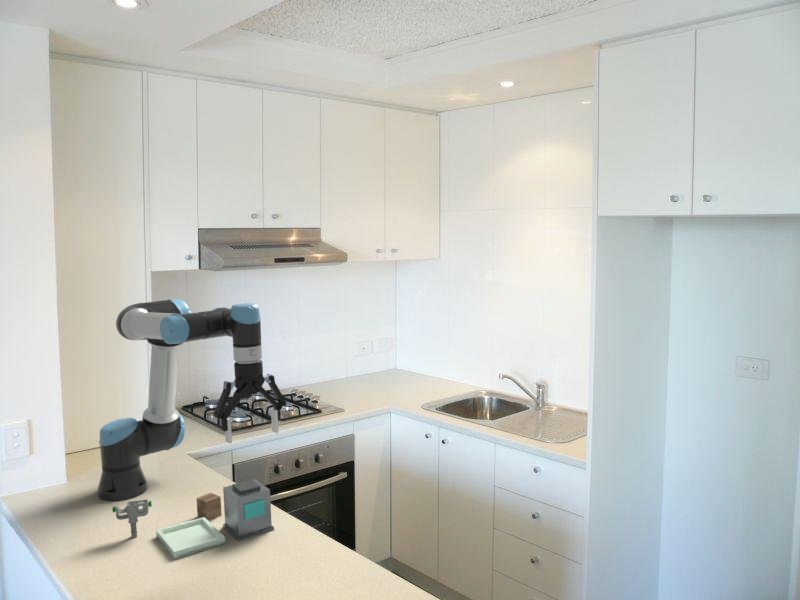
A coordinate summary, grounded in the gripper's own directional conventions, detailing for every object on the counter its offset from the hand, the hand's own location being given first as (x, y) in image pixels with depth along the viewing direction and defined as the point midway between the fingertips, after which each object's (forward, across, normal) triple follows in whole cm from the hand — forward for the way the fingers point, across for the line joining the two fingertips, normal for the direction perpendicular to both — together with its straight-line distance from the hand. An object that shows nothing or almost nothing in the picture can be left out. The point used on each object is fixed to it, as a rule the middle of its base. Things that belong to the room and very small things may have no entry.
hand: (252, 436), depth 194 cm
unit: (+29, 0, +8) cm, 30 cm away
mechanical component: (+29, -28, +23) cm, 46 cm away
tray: (+29, -16, +11) cm, 35 cm away
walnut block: (+29, -6, +23) cm, 38 cm away
